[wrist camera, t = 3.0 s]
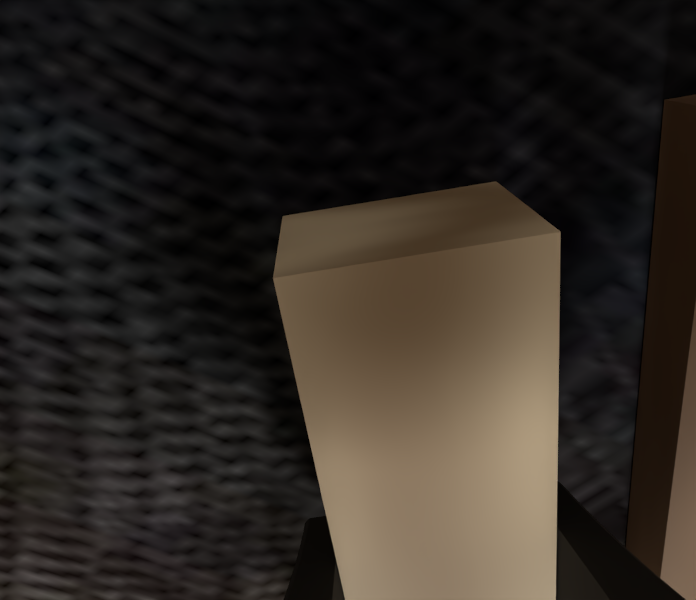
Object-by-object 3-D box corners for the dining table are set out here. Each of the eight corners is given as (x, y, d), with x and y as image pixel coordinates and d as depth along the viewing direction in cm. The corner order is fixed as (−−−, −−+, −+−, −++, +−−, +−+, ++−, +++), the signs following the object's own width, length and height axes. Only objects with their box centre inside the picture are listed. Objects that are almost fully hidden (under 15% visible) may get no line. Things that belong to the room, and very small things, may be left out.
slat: (495, 181, 10) (560, 232, 8) (513, 654, 16) (553, 777, 14) (282, 215, 11) (272, 278, 8) (377, 675, 16) (390, 802, 14)
